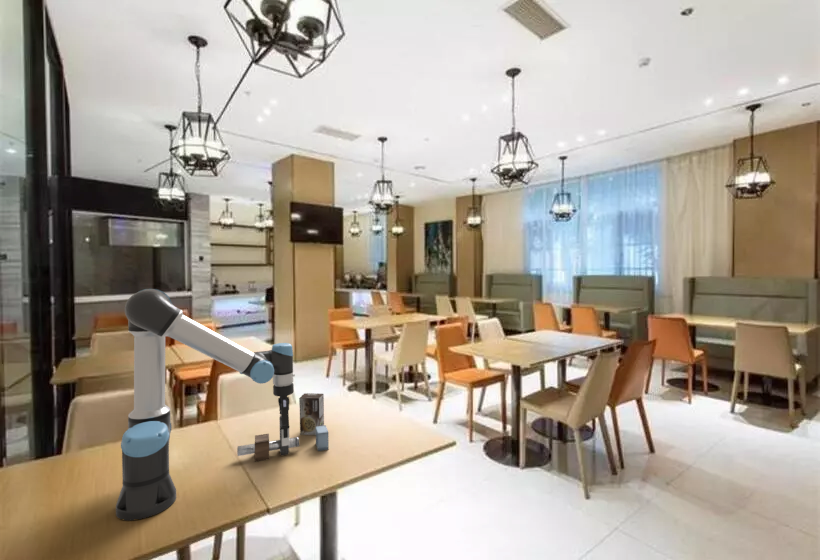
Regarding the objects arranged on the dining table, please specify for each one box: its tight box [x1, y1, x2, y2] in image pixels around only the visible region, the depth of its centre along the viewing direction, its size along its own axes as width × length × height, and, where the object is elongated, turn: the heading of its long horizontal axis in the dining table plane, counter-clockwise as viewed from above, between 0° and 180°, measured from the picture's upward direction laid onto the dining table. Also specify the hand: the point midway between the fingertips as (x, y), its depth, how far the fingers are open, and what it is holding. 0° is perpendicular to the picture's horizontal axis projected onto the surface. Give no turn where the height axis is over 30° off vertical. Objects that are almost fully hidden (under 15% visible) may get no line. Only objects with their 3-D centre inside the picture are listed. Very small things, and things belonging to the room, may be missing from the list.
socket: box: [315, 424, 330, 452], centre depth 155 cm, size 7×4×7 cm, turn 21°
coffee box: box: [298, 392, 325, 436], centre depth 169 cm, size 9×6×16 cm
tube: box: [236, 416, 300, 457], centre depth 148 cm, size 22×5×13 cm, turn 111°
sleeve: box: [254, 433, 270, 462], centre depth 147 cm, size 7×5×7 cm
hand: (284, 438), depth 150 cm, fingers open, 13 cm apart
